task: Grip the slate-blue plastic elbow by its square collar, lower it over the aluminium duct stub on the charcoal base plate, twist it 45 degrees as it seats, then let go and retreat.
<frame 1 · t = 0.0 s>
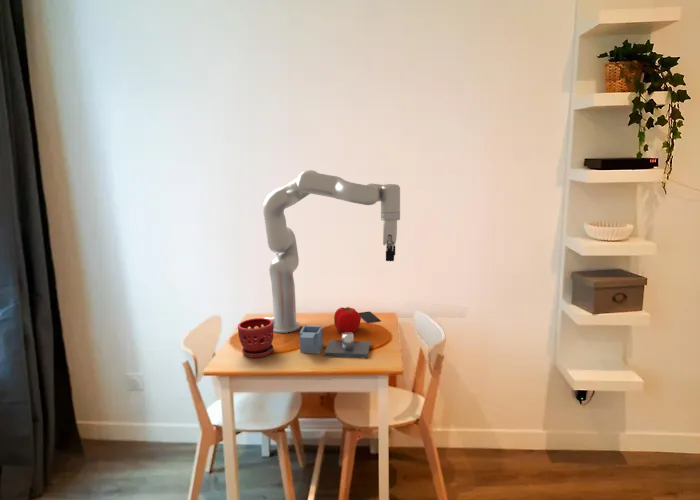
hand: (390, 258, 205), 31 cm above the table, fingers open, 9 cm apart
smartphone: (368, 318, 229), on the table
elbow: (311, 349, 196), on the table
tomato: (347, 331, 213), on the table
duct base: (348, 350, 194), on the table
plant pot: (257, 353, 194), on the table
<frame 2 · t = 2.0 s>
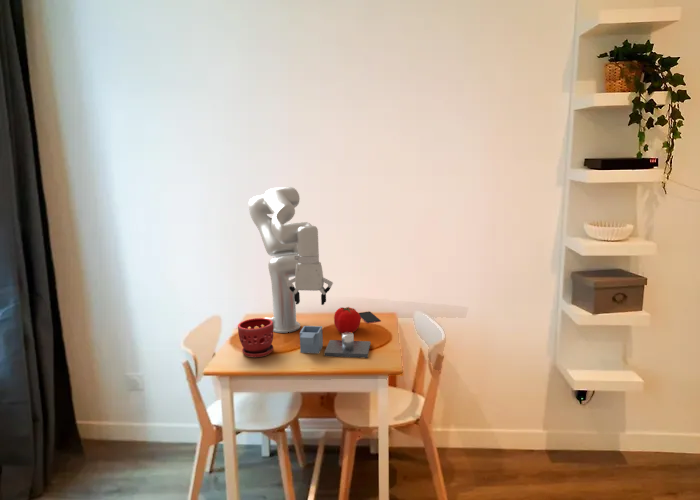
hand: (310, 303, 192), 18 cm above the table, fingers open, 9 cm apart
nothing on the table moved.
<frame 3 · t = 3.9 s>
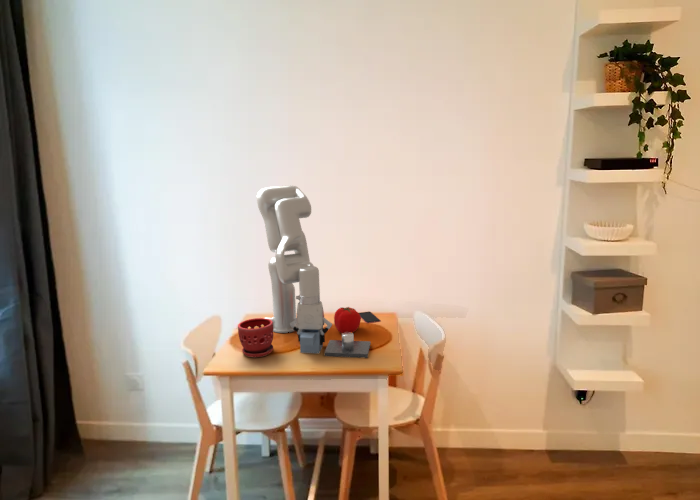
hand: (311, 343, 195), 2 cm above the table, fingers closed on elbow, 7 cm apart
elbow: (311, 349, 196), on the table, touching gripper
everything else where it was.
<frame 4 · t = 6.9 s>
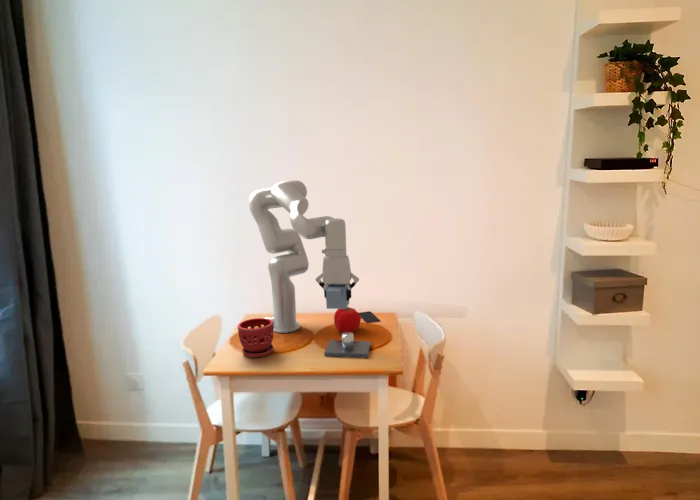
hand: (338, 299, 189), 20 cm above the table, fingers closed on elbow, 7 cm apart
elbow: (338, 305, 190), point 18 cm above the table, touching gripper
everything else where it was.
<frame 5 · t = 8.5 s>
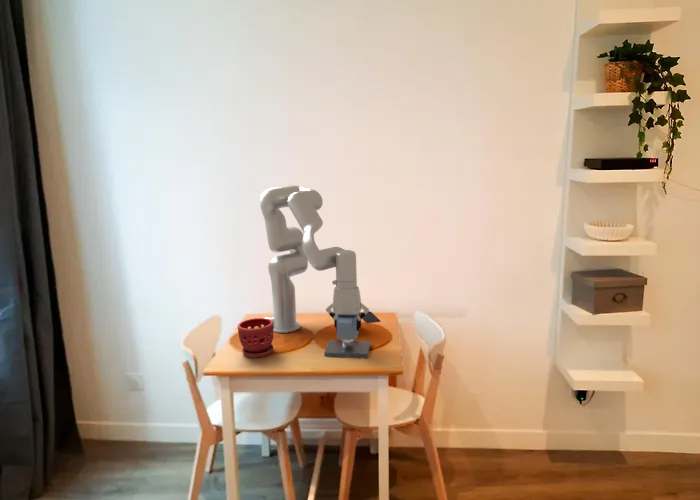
hand: (347, 329, 192), 9 cm above the table, fingers closed on elbow, 7 cm apart
elbow: (348, 335, 192), point 6 cm above the table, touching gripper
everything else where it was.
when the fingers open (5 cm above the table, at t = 9.9 s): elbow drops 1 cm, resting on duct base.
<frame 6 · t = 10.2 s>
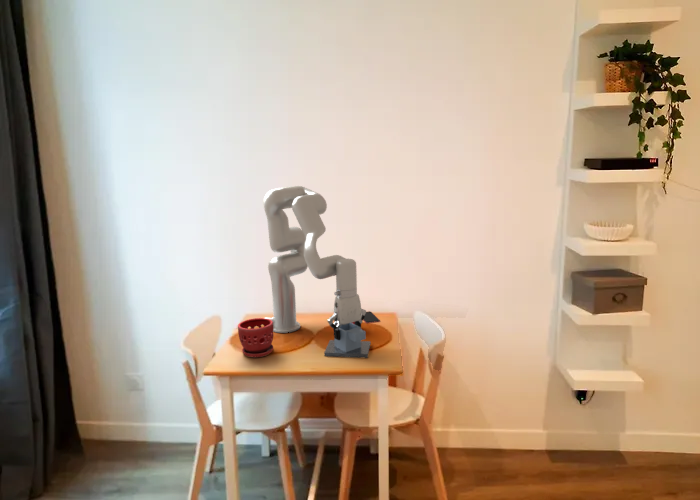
hand: (347, 335, 192), 6 cm above the table, fingers open, 9 cm apart
elbow: (347, 346, 193), point 1 cm above the table, touching duct base
everything else where it was.
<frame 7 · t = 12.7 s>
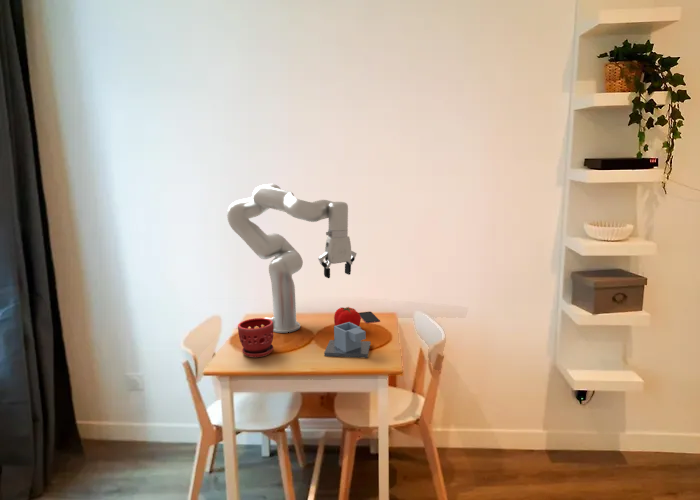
hand: (337, 275, 204), 25 cm above the table, fingers open, 9 cm apart
nothing on the table moved.
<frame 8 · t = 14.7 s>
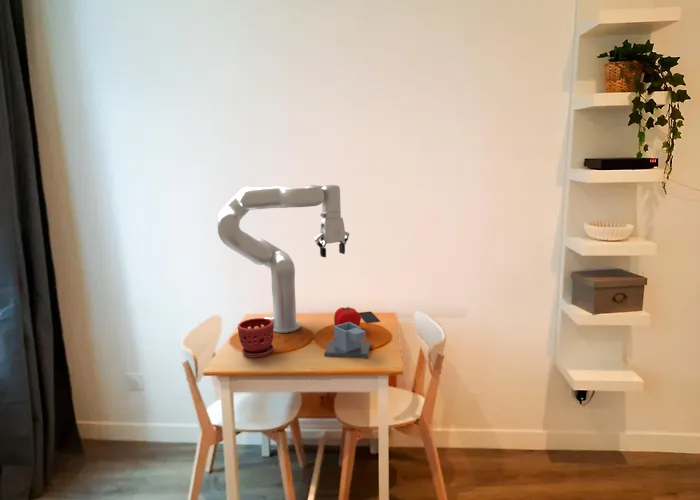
hand: (332, 255, 216), 30 cm above the table, fingers open, 9 cm apart
nothing on the table moved.
at the end: elbow 0.2 cm off-centre on the duct base, point 1.5 cm above the duct base's base; elbow tilted 0°; the gripper is holding nothing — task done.
